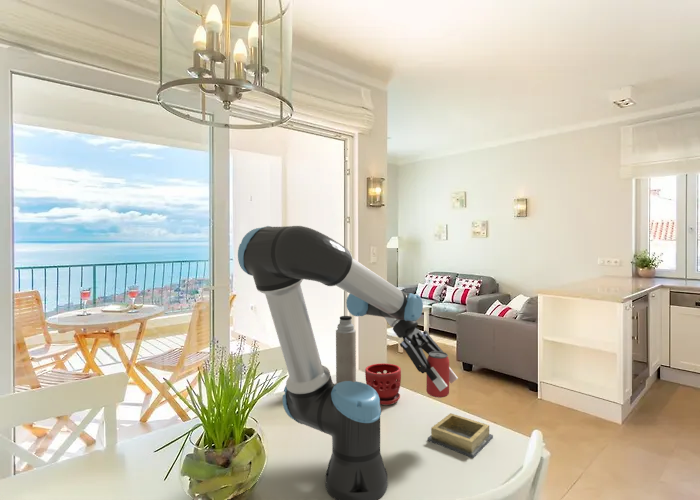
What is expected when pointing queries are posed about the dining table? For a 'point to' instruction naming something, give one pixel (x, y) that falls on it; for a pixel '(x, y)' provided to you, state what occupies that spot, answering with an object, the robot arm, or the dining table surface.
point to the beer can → (442, 367)
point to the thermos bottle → (345, 350)
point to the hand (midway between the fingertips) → (449, 384)
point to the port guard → (460, 434)
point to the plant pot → (384, 381)
